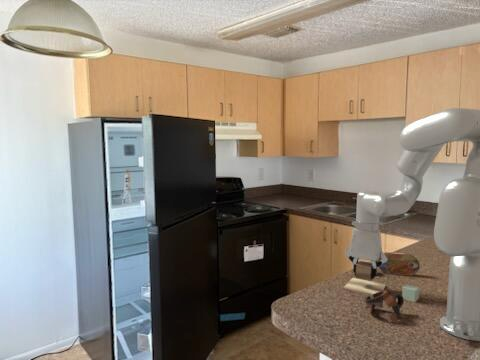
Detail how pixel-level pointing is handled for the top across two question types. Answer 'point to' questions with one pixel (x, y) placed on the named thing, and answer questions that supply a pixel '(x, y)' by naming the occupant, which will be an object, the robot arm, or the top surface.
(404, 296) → the sage block
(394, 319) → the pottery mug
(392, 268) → the tin
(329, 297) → the top surface
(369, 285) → the plate
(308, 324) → the top surface
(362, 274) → the walnut block
